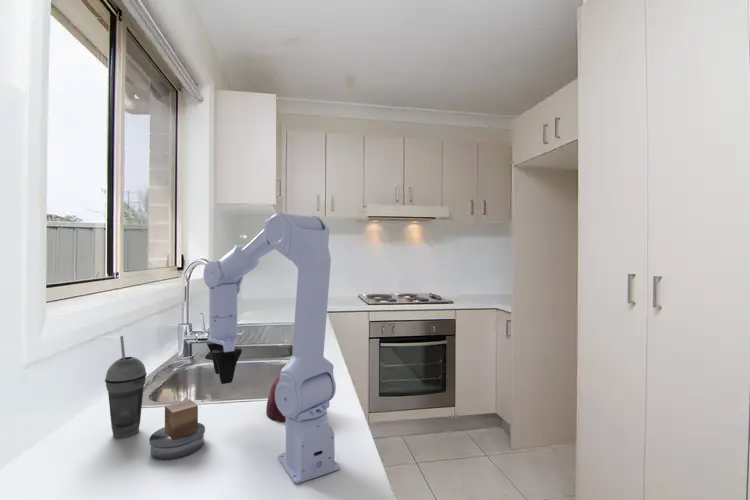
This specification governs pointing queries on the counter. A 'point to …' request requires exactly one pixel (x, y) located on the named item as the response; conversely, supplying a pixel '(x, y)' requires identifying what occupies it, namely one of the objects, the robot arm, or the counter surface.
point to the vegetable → (274, 404)
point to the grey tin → (175, 444)
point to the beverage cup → (125, 394)
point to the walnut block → (181, 419)
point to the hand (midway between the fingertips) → (223, 377)
